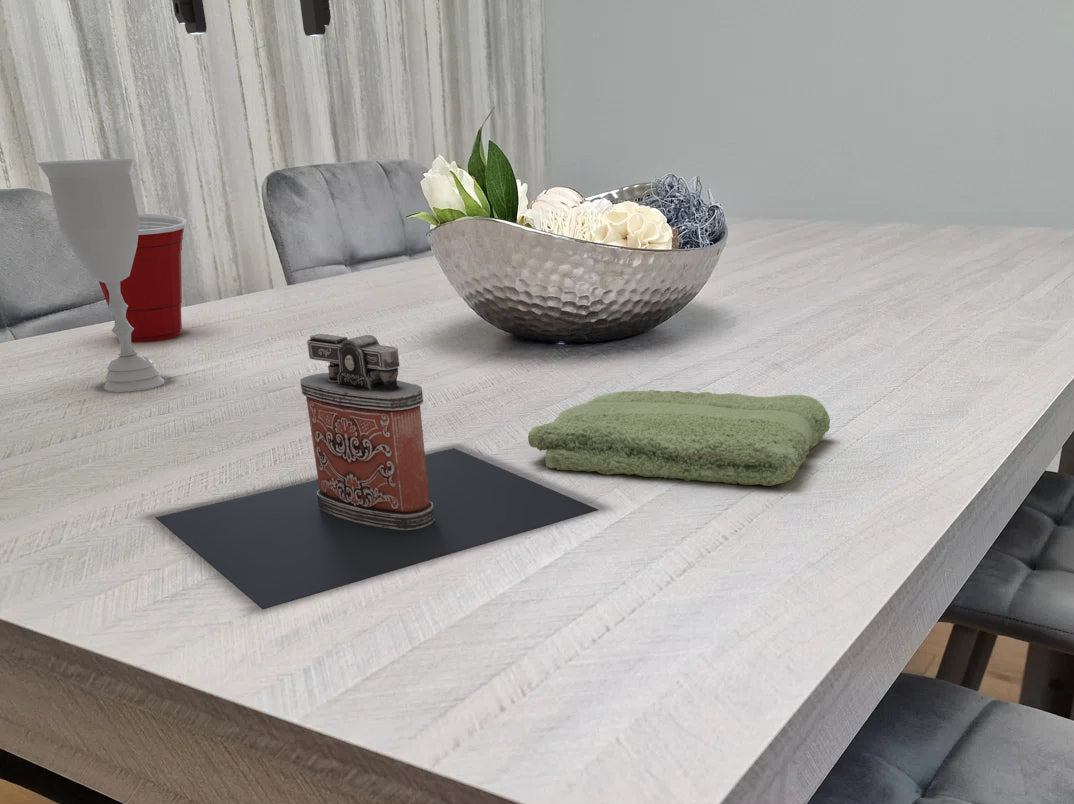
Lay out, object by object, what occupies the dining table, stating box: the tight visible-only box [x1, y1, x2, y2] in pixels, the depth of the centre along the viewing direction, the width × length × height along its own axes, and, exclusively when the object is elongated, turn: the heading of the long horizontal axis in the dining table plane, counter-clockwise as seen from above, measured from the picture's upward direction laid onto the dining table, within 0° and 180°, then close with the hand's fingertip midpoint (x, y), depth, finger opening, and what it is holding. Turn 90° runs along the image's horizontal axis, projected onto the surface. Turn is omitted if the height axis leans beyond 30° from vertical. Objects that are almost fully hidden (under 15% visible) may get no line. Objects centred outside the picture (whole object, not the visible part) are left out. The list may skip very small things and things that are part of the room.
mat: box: [155, 447, 600, 610], centre depth 60 cm, size 20×16×1 cm
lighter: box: [299, 333, 435, 530], centre depth 58 cm, size 8×3×10 cm, turn 56°
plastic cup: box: [98, 213, 188, 343], centre depth 107 cm, size 11×11×12 cm
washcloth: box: [527, 389, 831, 487], centre depth 69 cm, size 13×18×3 cm
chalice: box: [37, 158, 165, 393], centre depth 86 cm, size 7×7×18 cm
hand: (257, 34), depth 72 cm, fingers open, 8 cm apart
